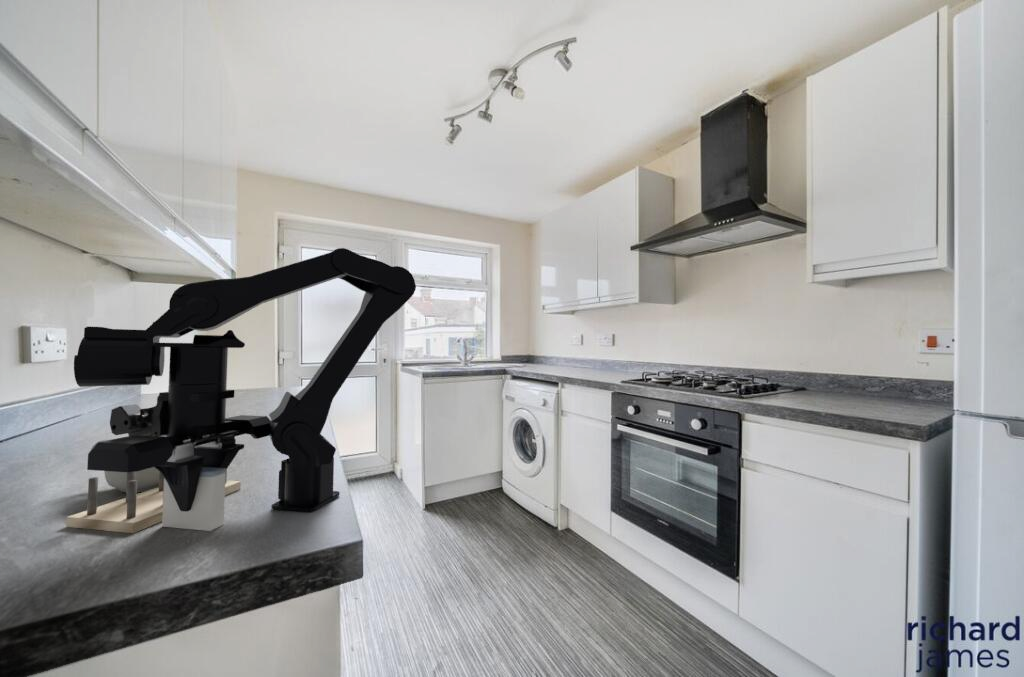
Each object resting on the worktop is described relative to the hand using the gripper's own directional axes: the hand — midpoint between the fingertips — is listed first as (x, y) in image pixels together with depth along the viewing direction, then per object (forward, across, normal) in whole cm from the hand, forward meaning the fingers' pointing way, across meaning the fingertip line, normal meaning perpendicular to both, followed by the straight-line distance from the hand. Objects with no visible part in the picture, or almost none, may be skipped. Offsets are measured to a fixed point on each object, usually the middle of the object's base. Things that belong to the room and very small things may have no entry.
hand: (193, 507), depth 48 cm
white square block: (+2, 0, 0) cm, 2 cm away
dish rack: (+2, -4, -10) cm, 11 cm away
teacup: (+2, -10, -22) cm, 25 cm away
